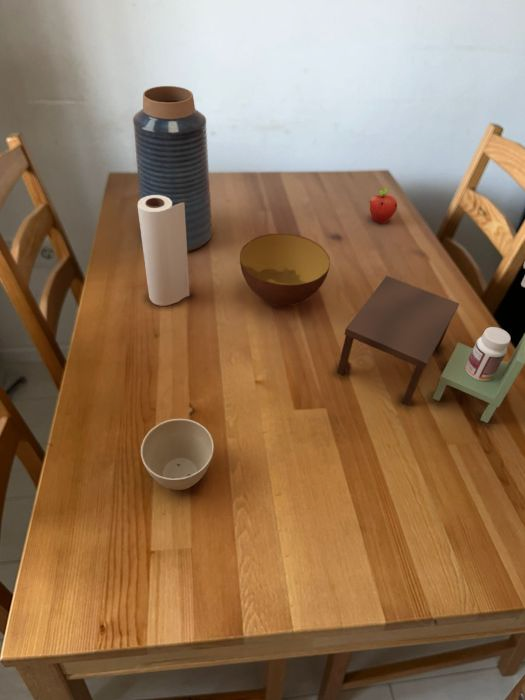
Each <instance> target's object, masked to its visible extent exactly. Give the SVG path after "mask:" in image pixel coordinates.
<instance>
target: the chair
mask: <svg viewBox="0 0 525 700" xmlns="http://www.w3.org/2000/svg"><path fill="white" fill-rule="evenodd" d="M473 349H474V347H471V346H469V345H467V344H463V343H462V342H457V343H456V345H455V347H454V350H453V351H452V354H451V355H450V357H449V359H448V361H447V363H446V365H445V367H444V370H443V371H442V372H441V373H442V374H441V375H440V377H439V380H438V381H439V382H438V385H437V387H436V388H435V391H434V394H433V396H432V399H433V400H434V401H437V402H440V400H441V398H442V396H443V394H444V392H445V390H446V388H447V386H450V387H452V388H454V389H457V390H459V391H461V392H463V393H466V394H468V395H470V396H472V397H475V398H476V399H479V400H481V401H484V402H486V403H488V404H487V406H486V408H485V410H484V411H483V413H482V415H481V417H480V421H481V422H484V423H485V424H488V423H489V421H490V420H491V418H492V416H493V415H494V413H495V411H496V410H497V408H500V407H501V404H502V403H503V401H504V399H505V397H506V396H507V394H508V392H509V391H510V389H511V388H512V386H513V384H514V383H515V381H516V379H517V377H518V376H519V374H520V372H521V371H522V369H523V367H524V366H525V333H523V335H522V337H521V339H520V340H519V343H518V344H517V346H516V347H515V349H514V351H513V353H512V355H511V356H510V359H509V360H508V361H505V360H502V362H501V364H500V365H499V367H498V369H497V371H496V373H495V374H494V376H493V378H492V379H490V380H488V381H479V380H476V379H474V378H472V377H471V376H470V375H469V374H468V373H467V372H466V369H465V366H466V363H467V361H468V359H469V357H470V355H471V353H472V351H473Z"/></svg>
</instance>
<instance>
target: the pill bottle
mask: <svg viewBox="0 0 525 700" xmlns="http://www.w3.org/2000/svg"><path fill="white" fill-rule="evenodd" d="M510 342H511V335H510V334H509V333H508V331H506V330H504V329H503V328H500V327H497V326H489V327H487V328H485V330H484V331H483V334H482V335H481V336H480V337H479V338H478V339H477V340H476V342H475V344H474V347H473V351H472V353H471V355H470V357H469V359H468V361H467V363H466V366H465V369H466V372H467V373H468V374H469V375H470V376H471V377H472V378H474V379H476V380H479V381H488V380H490V379H492V378H493V376H494V374H495V373H496V371H497V369H498V367H499V365H500V364H501V362H502V360H503V359H504V358H505V357H506V355H507V352H508V347H509V344H510ZM503 361H504V360H503Z"/></svg>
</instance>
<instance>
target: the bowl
mask: <svg viewBox="0 0 525 700" xmlns="http://www.w3.org/2000/svg"><path fill="white" fill-rule="evenodd" d="M239 265H240V269H241V274H242V276H243V279H244V280H245V283H246V284H247V285H248V287H249V289H250V290H251V291H252V292H253V293H254V294H255V295H257V297H259V298H260V299H261V300H263V301H264V302H266V303H268V304H270V305H272V306H275V307H278V308H279V307H280V308H286V307H290V306H294V305H299V304H301V303H304V302H305V301H306V300H308V299H311V297H312V296H314V295H315V293H317V292H318V290H319V289H320V288H321V287H322V285H324V282H325V280H326V278H327V276H328V273H329V270H330V266H331V259H330V255H329V253H328V252H327V251H326V250H325V248H324V247H323V246H322V245H321V244H319V243H317V242H316V241H314V240H312V239H310V238H307V237H305V236H303V235H302V236H301V235H297V234H292V233H283V232H279V233H278V232H277V233H267V234H263V235H259V236H256V237H254V238H252V239H251V240H248V242H246V243H245V244H244V245H243V247H242V248H241V250H240V254H239Z"/></svg>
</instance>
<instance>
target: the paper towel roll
mask: <svg viewBox="0 0 525 700" xmlns="http://www.w3.org/2000/svg"><path fill="white" fill-rule="evenodd" d="M137 211H138V219H139V220H138V221H139V228H140V237H141V245H142V251H143V252H142V253H143V260H144V267H145V274H146V275H145V276H146V283H147V290H148V298H149V300H150V302H151V303H152V304H154V305H157V306H161V307H162V306H170V305H173V304H176V303H179V302H180V301H181V300H183V299H184V298H186V297H189V296H190V278H189V263H188V262H189V261H188V251H187V241H186V223H185V205H184V203H180V204H177V205H175V206H174V207H172V201H171V200H170V199H169V198H167V197H165V196H161V195H150V196H146V197H143V198H141V199H139V200H138V201H137Z"/></svg>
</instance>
